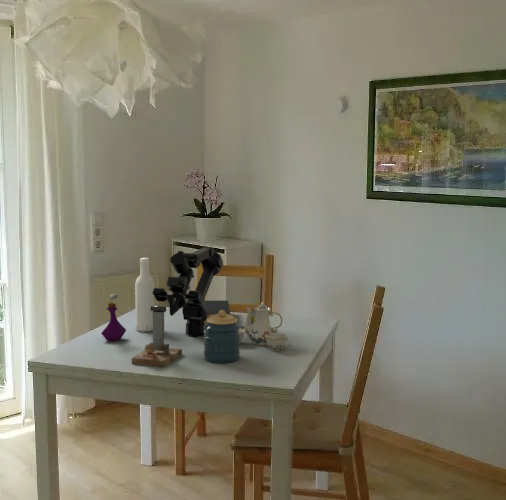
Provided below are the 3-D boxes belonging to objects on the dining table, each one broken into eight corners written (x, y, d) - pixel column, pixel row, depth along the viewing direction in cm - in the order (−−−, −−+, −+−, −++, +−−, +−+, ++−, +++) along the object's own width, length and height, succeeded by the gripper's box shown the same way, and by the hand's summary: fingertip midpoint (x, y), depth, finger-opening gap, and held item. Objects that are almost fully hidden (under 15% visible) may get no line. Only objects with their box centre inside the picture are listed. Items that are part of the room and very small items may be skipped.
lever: (153, 348, 237) (153, 304, 235) (166, 349, 236) (166, 306, 234) (150, 349, 236) (150, 306, 233) (164, 351, 234) (163, 307, 232)
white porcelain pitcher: (236, 331, 274) (236, 307, 273) (244, 326, 282) (244, 303, 281) (254, 333, 271) (254, 309, 270) (261, 328, 279) (262, 305, 278)
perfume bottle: (119, 342, 255) (118, 297, 252) (101, 341, 256) (100, 296, 254) (126, 337, 262) (126, 293, 260) (109, 336, 264) (108, 292, 261)
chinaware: (217, 349, 254) (215, 308, 250) (233, 334, 269) (232, 295, 265) (286, 358, 244) (286, 315, 240) (299, 342, 259) (299, 301, 255)
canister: (226, 366, 228) (226, 316, 226) (196, 359, 235) (196, 311, 233) (246, 356, 239) (247, 309, 237) (217, 351, 246) (217, 304, 244)
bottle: (137, 332, 270) (136, 260, 266) (133, 327, 278) (133, 257, 274) (156, 331, 273) (156, 259, 269) (152, 326, 280) (152, 256, 276)
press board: (152, 351, 245) (152, 332, 244) (182, 354, 241) (182, 335, 240) (131, 363, 229) (131, 343, 228) (163, 367, 226) (163, 346, 225)
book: (227, 314, 306) (228, 300, 305) (230, 328, 281) (230, 312, 280) (190, 314, 305) (190, 300, 304) (189, 328, 280) (189, 312, 279)
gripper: (154, 266, 250) (141, 301, 241) (200, 269, 245) (188, 305, 236) (163, 283, 259) (150, 317, 250) (207, 286, 253) (196, 321, 244)
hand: (171, 314), depth 244 cm, fingers closed
